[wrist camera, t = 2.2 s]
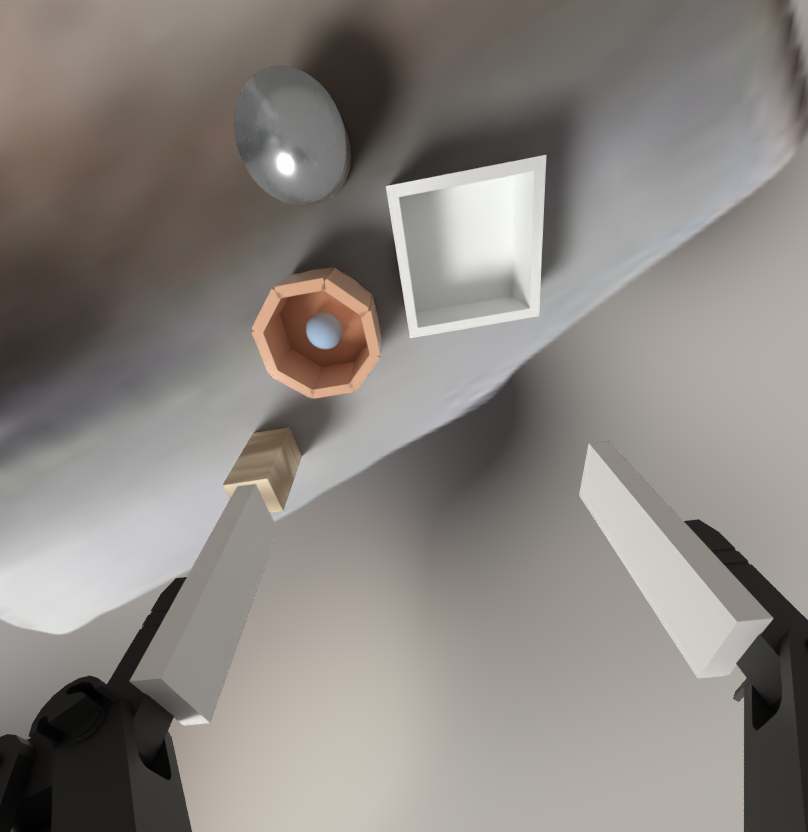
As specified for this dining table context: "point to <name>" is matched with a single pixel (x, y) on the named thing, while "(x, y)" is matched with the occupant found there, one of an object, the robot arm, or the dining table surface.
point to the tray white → (470, 245)
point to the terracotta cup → (291, 348)
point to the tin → (291, 136)
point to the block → (267, 466)
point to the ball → (324, 330)
